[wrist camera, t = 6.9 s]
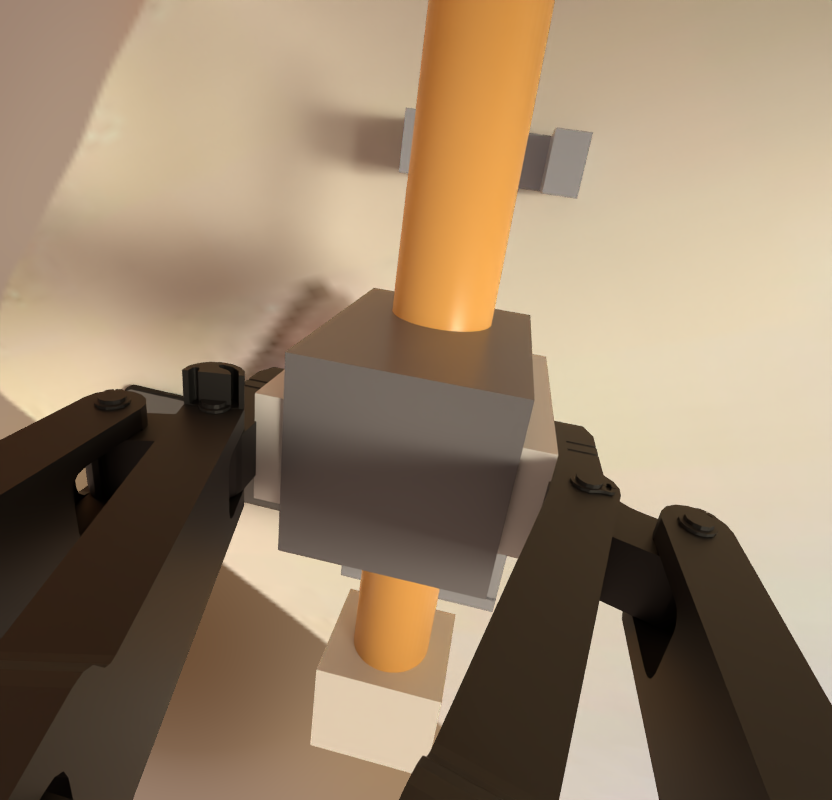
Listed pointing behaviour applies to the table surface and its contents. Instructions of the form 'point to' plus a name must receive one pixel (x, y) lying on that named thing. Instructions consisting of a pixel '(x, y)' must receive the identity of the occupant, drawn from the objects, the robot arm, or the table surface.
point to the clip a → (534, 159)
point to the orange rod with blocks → (420, 395)
